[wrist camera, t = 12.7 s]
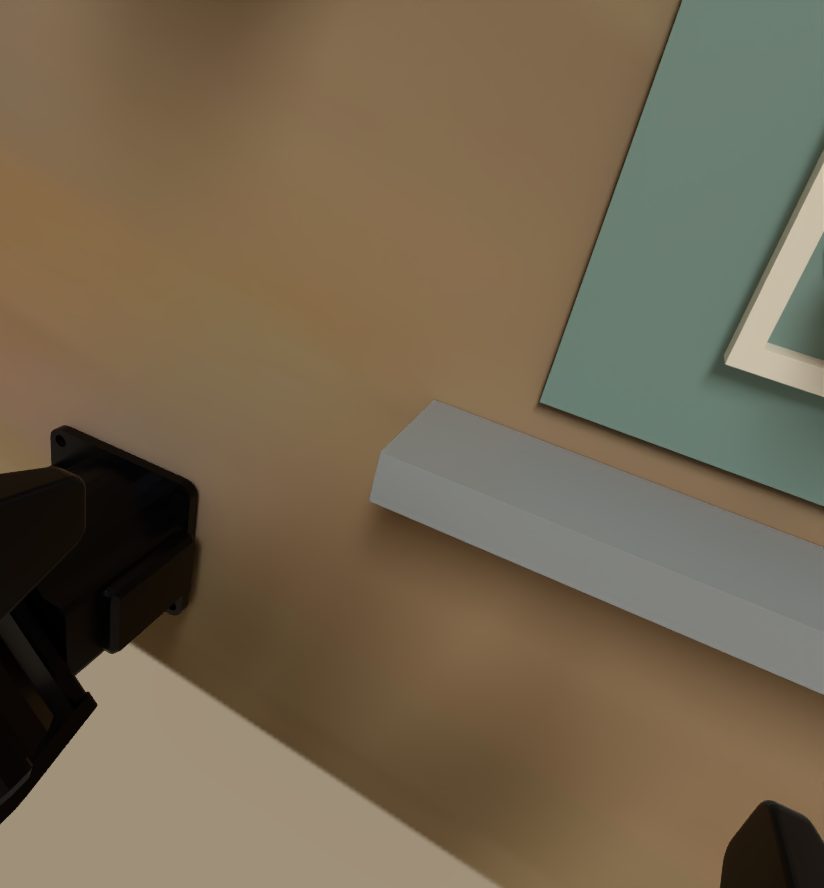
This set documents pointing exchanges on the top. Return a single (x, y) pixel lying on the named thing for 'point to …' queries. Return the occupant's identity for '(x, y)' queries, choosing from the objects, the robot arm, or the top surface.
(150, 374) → the top surface
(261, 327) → the top surface
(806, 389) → the resting mat
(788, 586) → the gray wall
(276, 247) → the top surface
